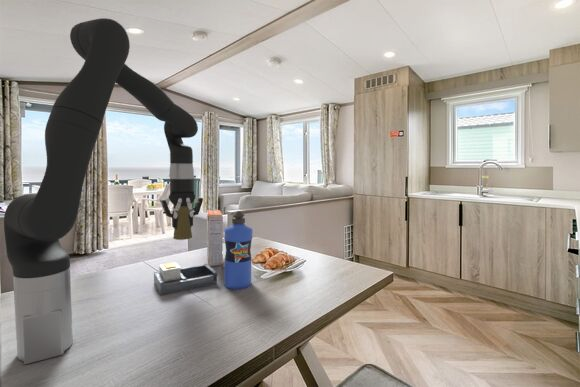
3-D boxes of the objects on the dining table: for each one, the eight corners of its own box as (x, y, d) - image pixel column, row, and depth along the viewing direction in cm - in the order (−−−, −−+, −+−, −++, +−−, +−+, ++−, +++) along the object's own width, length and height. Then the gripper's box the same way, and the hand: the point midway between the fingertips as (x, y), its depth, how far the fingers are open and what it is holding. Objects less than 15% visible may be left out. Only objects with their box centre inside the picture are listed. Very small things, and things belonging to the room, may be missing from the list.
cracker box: (206, 256, 132) (206, 209, 130) (220, 255, 134) (220, 209, 132) (207, 266, 119) (207, 214, 117) (222, 265, 120) (223, 214, 119)
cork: (195, 235, 104) (194, 204, 103) (187, 240, 98) (187, 206, 97) (178, 235, 104) (177, 203, 103) (169, 239, 98) (169, 206, 97)
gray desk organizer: (216, 283, 102) (217, 262, 101) (160, 295, 92) (160, 271, 91) (206, 274, 110) (206, 254, 110) (154, 284, 100) (153, 262, 100)
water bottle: (254, 287, 100) (255, 213, 97) (226, 291, 96) (227, 214, 94) (247, 277, 108) (249, 209, 106) (221, 280, 105) (222, 210, 103)
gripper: (161, 178, 92) (163, 233, 93) (206, 177, 100) (207, 228, 102) (156, 177, 98) (157, 228, 99) (199, 176, 106) (199, 224, 108)
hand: (182, 228), depth 101 cm, fingers closed on cork, 4 cm apart
